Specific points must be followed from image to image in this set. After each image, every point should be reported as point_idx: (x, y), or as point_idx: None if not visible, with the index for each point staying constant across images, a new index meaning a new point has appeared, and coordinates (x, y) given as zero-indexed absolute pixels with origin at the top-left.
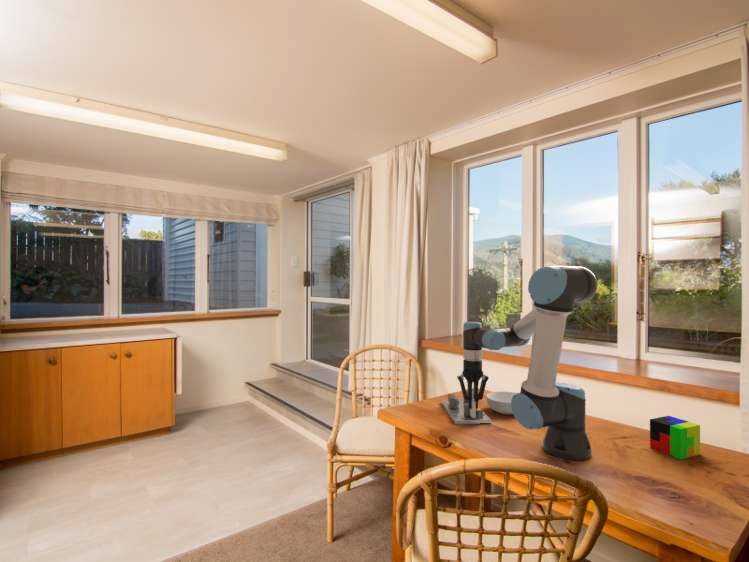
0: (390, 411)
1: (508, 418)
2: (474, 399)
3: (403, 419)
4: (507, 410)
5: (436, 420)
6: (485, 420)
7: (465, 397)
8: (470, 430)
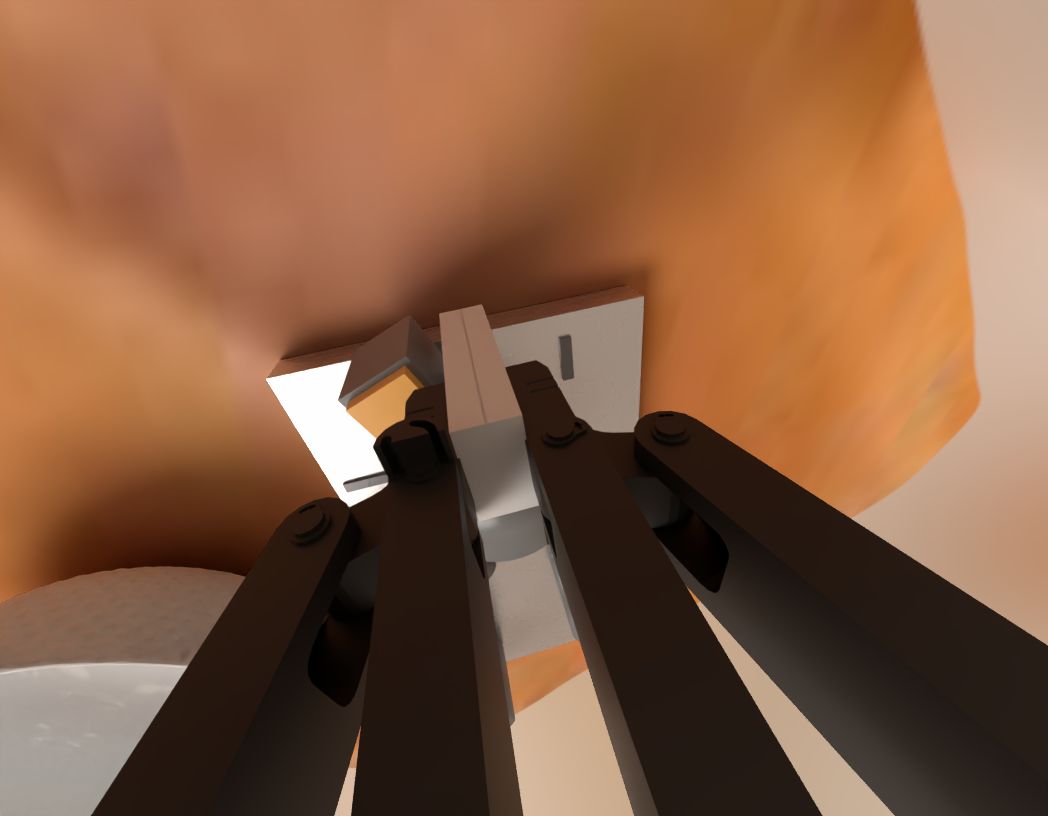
0: (930, 445)
1: (131, 510)
2: (469, 499)
3: (945, 333)
4: (99, 581)
5: (743, 354)
6: (330, 363)
7: (702, 442)
8: (503, 113)
